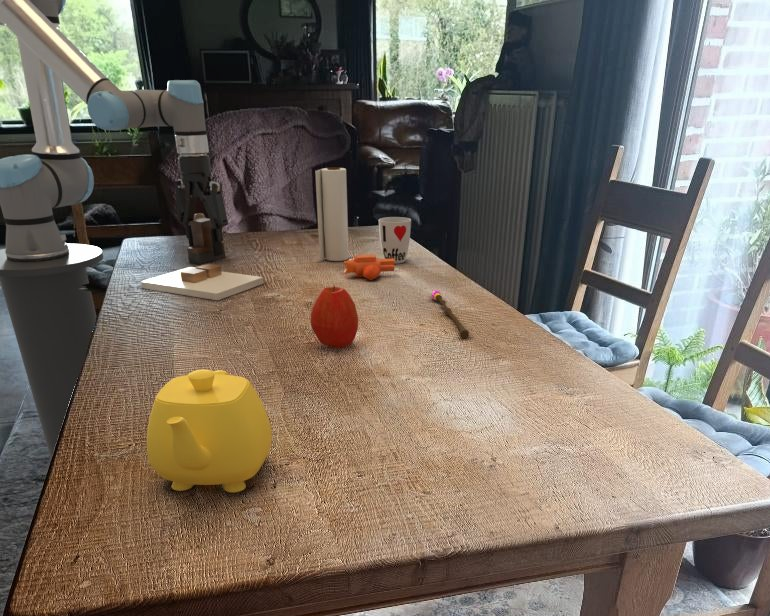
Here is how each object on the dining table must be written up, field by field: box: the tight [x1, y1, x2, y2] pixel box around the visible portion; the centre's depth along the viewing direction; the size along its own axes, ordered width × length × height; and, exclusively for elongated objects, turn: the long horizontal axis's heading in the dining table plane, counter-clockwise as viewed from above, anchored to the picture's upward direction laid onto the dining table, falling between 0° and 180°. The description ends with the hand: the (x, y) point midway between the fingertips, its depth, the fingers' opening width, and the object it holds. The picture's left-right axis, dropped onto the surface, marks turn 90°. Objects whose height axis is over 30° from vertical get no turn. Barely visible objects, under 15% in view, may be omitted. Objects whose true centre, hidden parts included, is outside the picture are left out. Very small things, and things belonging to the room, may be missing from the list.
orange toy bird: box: [343, 254, 396, 281], centre depth 165 cm, size 5×8×12 cm
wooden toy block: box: [187, 217, 226, 265], centre depth 181 cm, size 4×10×10 cm, turn 151°
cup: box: [378, 216, 412, 265], centre depth 178 cm, size 8×8×10 cm
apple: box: [310, 284, 359, 349], centre depth 122 cm, size 8×8×11 cm
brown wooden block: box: [180, 268, 207, 283], centre depth 159 cm, size 4×4×2 cm
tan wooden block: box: [195, 263, 222, 278], centre depth 163 cm, size 4×4×2 cm
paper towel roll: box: [314, 166, 350, 262], centre depth 178 cm, size 7×6×21 cm
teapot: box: [146, 369, 273, 493], centre depth 81 cm, size 14×20×13 cm
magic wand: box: [431, 290, 470, 340], centre depth 140 cm, size 2×2×30 cm
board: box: [140, 266, 264, 302], centre depth 161 cm, size 22×16×2 cm
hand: (206, 253), depth 183 cm, fingers open, 7 cm apart
